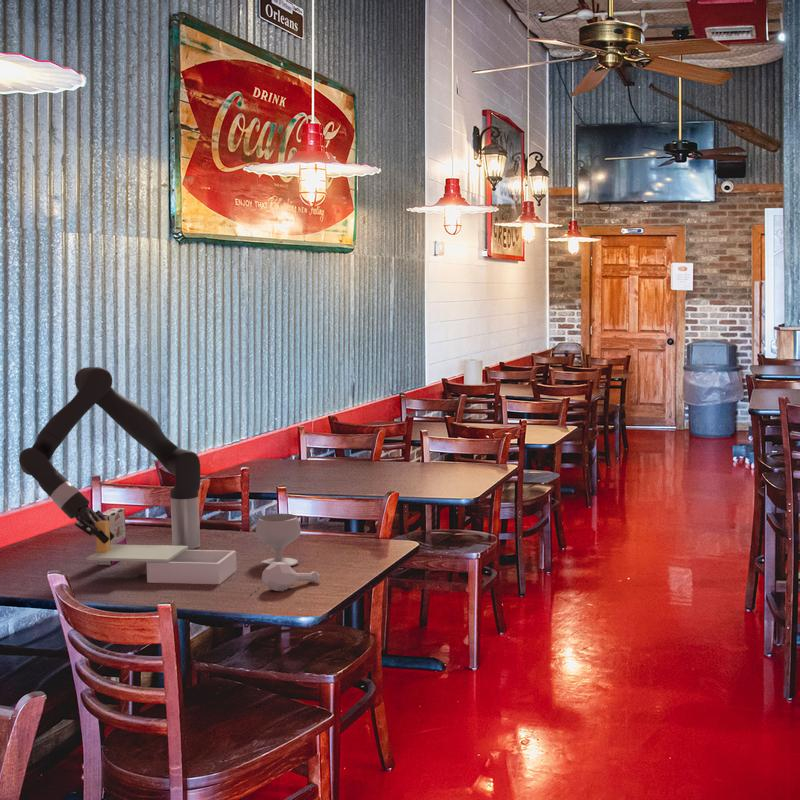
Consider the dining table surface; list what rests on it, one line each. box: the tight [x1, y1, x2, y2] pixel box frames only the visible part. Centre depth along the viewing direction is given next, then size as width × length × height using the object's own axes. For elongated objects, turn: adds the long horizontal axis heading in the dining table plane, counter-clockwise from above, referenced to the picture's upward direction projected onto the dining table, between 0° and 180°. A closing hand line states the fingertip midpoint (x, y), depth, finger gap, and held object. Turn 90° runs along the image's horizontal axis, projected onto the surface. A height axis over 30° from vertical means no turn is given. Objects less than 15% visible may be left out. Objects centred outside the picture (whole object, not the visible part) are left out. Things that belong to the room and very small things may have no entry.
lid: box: [85, 520, 189, 562], centre depth 310 cm, size 17×25×10 cm
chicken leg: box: [261, 562, 321, 592], centre depth 298 cm, size 8×18×8 cm, turn 130°
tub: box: [146, 549, 238, 585], centre depth 308 cm, size 16×22×7 cm
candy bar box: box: [97, 507, 127, 566], centre depth 332 cm, size 11×5×16 cm, turn 168°
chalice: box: [255, 513, 302, 567], centre depth 324 cm, size 14×14×15 cm
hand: (109, 540), depth 312 cm, fingers closed on lid, 3 cm apart
